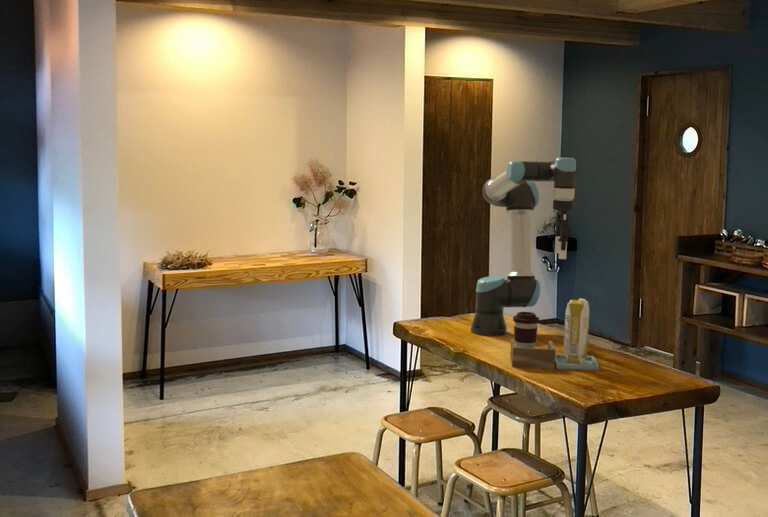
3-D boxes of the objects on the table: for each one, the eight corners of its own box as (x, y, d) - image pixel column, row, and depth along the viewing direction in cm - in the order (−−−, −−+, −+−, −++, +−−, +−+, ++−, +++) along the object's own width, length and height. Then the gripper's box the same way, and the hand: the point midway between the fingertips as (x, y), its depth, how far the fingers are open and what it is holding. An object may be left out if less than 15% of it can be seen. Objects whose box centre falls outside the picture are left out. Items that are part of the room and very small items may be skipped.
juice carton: (584, 367, 308) (587, 301, 305) (561, 365, 311) (565, 299, 307) (587, 361, 317) (590, 297, 313) (565, 359, 319) (568, 295, 316)
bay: (510, 356, 323) (511, 338, 322) (550, 358, 322) (551, 340, 321) (512, 367, 309) (513, 348, 308) (554, 369, 308) (555, 349, 307)
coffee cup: (537, 355, 326) (539, 316, 324) (510, 353, 328) (512, 315, 326) (537, 349, 336) (539, 311, 334) (512, 347, 338) (514, 310, 336)
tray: (552, 359, 321) (552, 354, 321) (593, 361, 320) (593, 355, 319) (556, 369, 307) (556, 363, 307) (598, 371, 306) (599, 365, 306)
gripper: (550, 196, 332) (546, 250, 335) (556, 202, 307) (553, 260, 310) (569, 197, 331) (566, 251, 334) (578, 202, 306) (574, 261, 310)
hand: (560, 256), depth 322 cm, fingers open, 13 cm apart
